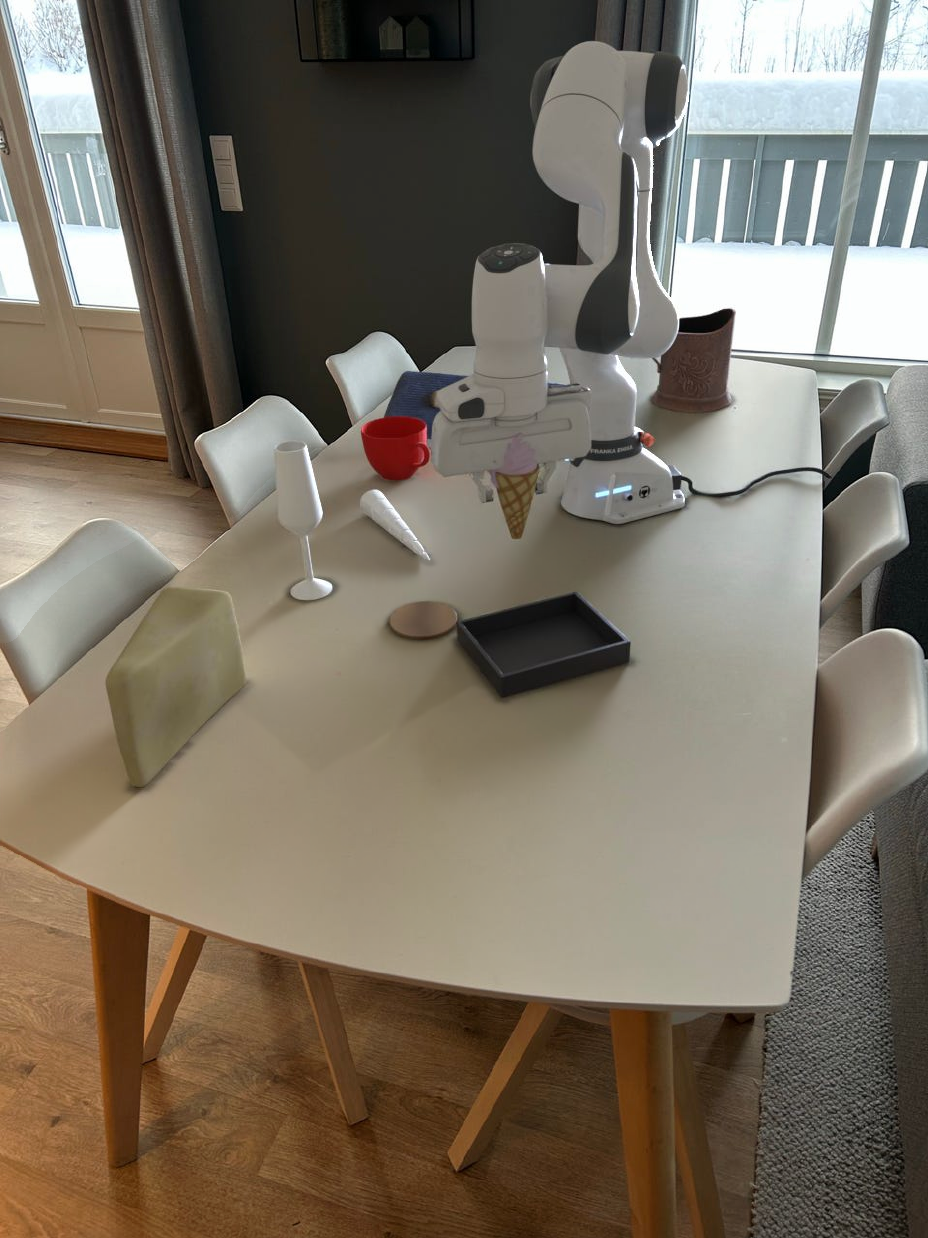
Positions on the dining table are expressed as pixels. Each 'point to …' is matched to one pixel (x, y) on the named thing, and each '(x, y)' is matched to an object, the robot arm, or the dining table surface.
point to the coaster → (423, 620)
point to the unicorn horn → (389, 520)
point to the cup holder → (697, 364)
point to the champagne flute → (299, 509)
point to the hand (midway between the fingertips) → (512, 496)
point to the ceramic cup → (395, 446)
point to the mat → (421, 395)
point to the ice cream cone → (516, 484)
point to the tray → (541, 643)
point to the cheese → (173, 676)
